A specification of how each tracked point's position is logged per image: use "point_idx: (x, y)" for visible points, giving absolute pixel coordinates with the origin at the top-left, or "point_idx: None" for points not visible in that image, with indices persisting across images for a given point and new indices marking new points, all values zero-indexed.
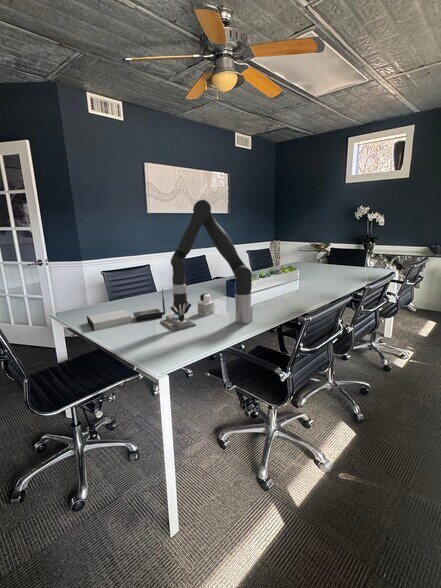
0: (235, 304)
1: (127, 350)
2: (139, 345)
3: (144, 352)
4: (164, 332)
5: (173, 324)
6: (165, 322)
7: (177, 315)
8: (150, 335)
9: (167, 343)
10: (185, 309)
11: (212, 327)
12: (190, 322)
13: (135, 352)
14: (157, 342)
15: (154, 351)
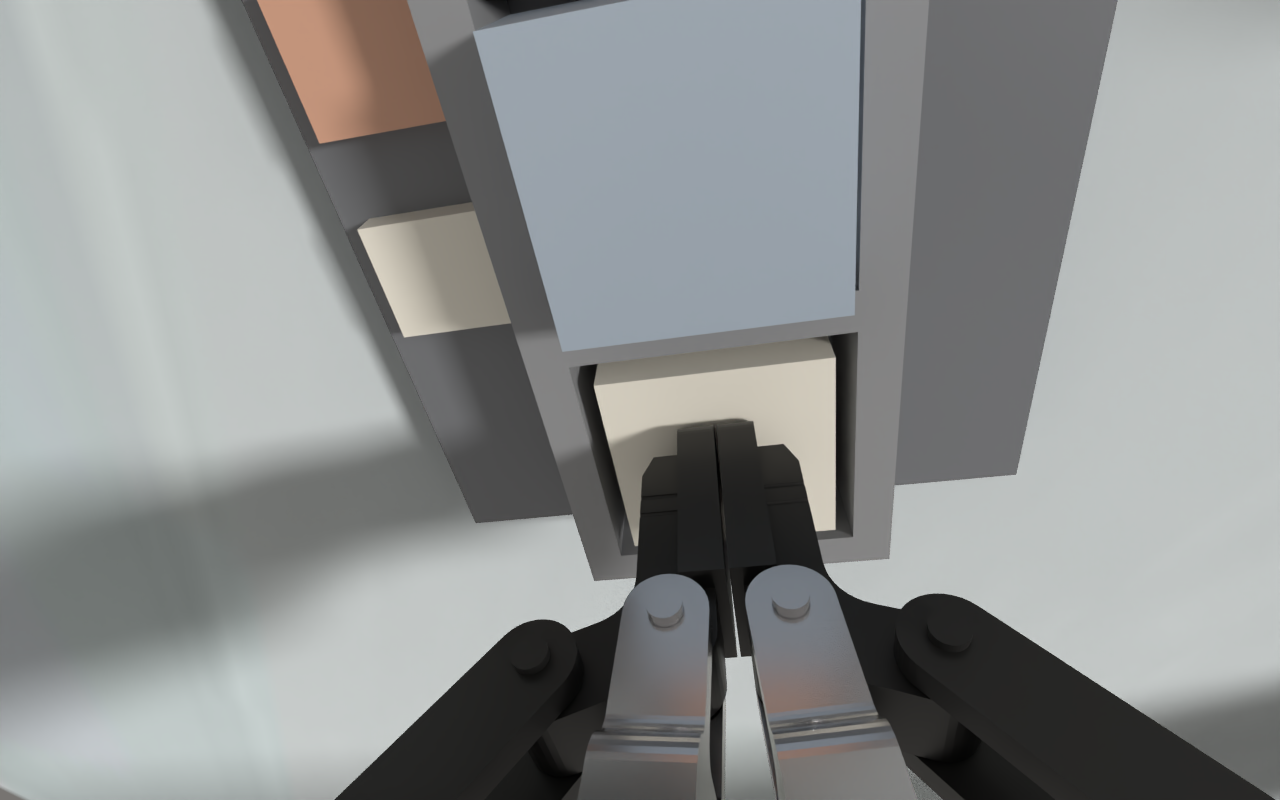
0: None
1: None
2: (14, 664)
3: (140, 779)
4: (309, 456)
5: (509, 318)
6: (263, 11)
7: (739, 83)
8: (55, 464)
9: (365, 737)
10: (1040, 737)
11: (1162, 622)
12: (990, 331)
13: (41, 754)
14: (238, 684)
15: (239, 795)
